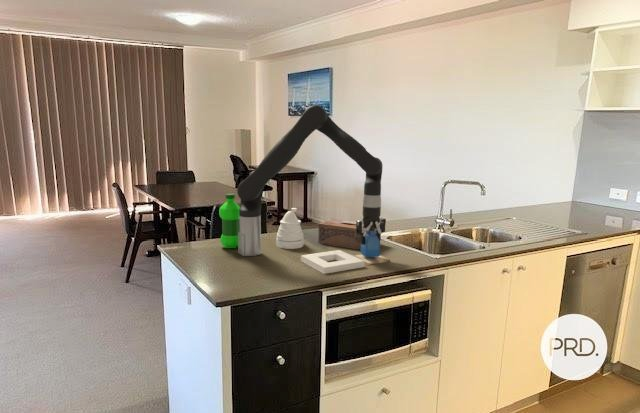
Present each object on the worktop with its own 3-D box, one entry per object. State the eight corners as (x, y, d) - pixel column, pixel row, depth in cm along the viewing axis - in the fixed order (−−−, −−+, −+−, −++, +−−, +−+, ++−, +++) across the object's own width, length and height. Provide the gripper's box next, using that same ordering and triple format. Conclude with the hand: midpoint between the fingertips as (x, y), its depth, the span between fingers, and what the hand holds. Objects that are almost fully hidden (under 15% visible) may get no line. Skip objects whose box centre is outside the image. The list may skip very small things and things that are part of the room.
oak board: (367, 265, 183) (367, 263, 183) (350, 257, 193) (350, 255, 193) (390, 261, 189) (390, 259, 189) (372, 254, 199) (373, 252, 199)
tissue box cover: (378, 244, 217) (379, 224, 216) (366, 251, 205) (367, 230, 203) (332, 237, 230) (332, 218, 228) (318, 243, 217) (318, 223, 216)
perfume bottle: (365, 257, 187) (366, 229, 185) (360, 253, 193) (361, 226, 190) (379, 256, 188) (380, 228, 186) (374, 252, 194) (375, 225, 192)
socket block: (324, 273, 171) (324, 267, 170) (300, 261, 187) (301, 255, 186) (364, 266, 180) (364, 261, 180) (339, 255, 196) (339, 249, 196)
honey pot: (305, 242, 218) (305, 206, 215) (301, 249, 205) (301, 211, 202) (279, 241, 219) (279, 205, 216) (274, 248, 207) (273, 210, 204)
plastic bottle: (230, 251, 200) (229, 196, 196) (215, 247, 206) (213, 194, 202) (247, 247, 208) (246, 194, 204) (231, 243, 214) (230, 192, 210)
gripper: (379, 202, 194) (378, 239, 196) (352, 205, 186) (351, 243, 189) (390, 205, 187) (389, 243, 190) (363, 207, 180) (361, 247, 183)
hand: (370, 243), depth 190 cm, fingers closed on perfume bottle, 7 cm apart
